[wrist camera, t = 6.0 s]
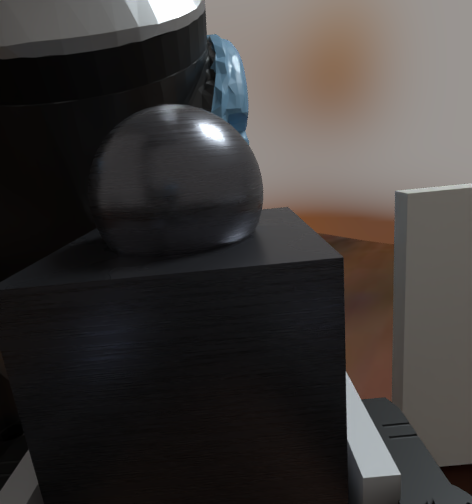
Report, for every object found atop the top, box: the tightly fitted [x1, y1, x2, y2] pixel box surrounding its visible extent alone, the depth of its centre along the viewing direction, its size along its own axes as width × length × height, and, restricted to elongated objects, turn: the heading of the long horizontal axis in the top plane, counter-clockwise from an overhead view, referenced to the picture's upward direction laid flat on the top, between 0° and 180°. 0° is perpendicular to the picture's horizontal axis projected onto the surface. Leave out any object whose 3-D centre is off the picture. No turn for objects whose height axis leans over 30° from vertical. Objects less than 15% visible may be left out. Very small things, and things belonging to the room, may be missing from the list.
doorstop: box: [0, 104, 348, 504], centre depth 11 cm, size 9×9×18 cm
